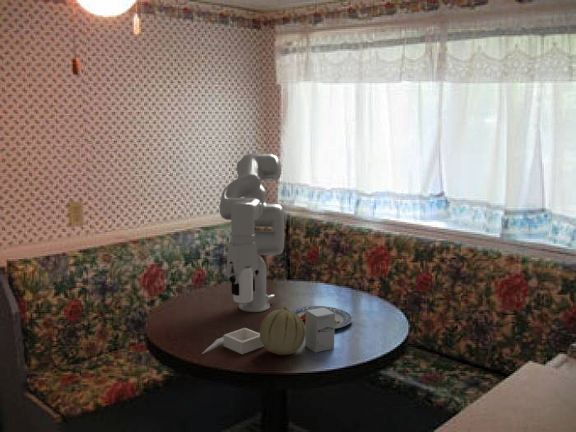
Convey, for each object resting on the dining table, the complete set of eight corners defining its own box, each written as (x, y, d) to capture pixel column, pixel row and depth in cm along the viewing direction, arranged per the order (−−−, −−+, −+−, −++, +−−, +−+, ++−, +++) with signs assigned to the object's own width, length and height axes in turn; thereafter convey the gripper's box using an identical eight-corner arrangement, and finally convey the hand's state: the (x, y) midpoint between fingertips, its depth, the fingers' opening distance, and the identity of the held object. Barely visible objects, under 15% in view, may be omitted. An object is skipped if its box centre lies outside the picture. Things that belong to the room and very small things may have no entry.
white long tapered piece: (224, 338, 201) (224, 333, 201) (231, 339, 200) (231, 334, 199) (198, 355, 188) (198, 350, 188) (205, 357, 187) (205, 351, 186)
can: (250, 304, 187) (249, 268, 185) (230, 303, 189) (230, 267, 187) (255, 298, 194) (254, 263, 192) (236, 297, 195) (236, 262, 193)
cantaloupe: (259, 363, 181) (259, 317, 178) (259, 344, 195) (259, 302, 193) (306, 362, 181) (307, 316, 179) (303, 344, 196) (303, 301, 193)
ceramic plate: (269, 322, 217) (269, 315, 217) (313, 306, 236) (313, 299, 235) (322, 340, 200) (322, 332, 199) (365, 322, 218) (365, 314, 218)
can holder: (245, 338, 201) (245, 327, 200) (263, 346, 194) (263, 335, 193) (223, 346, 194) (223, 334, 193) (242, 354, 187) (242, 342, 186)
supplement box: (315, 353, 188) (316, 316, 186) (304, 345, 195) (304, 309, 193) (334, 349, 192) (335, 313, 190) (323, 341, 198) (323, 306, 196)
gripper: (255, 234, 196) (255, 285, 199) (214, 241, 184) (215, 295, 187) (270, 237, 191) (270, 289, 194) (229, 245, 179) (230, 300, 182)
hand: (243, 292), depth 191 cm, fingers closed on can, 6 cm apart
